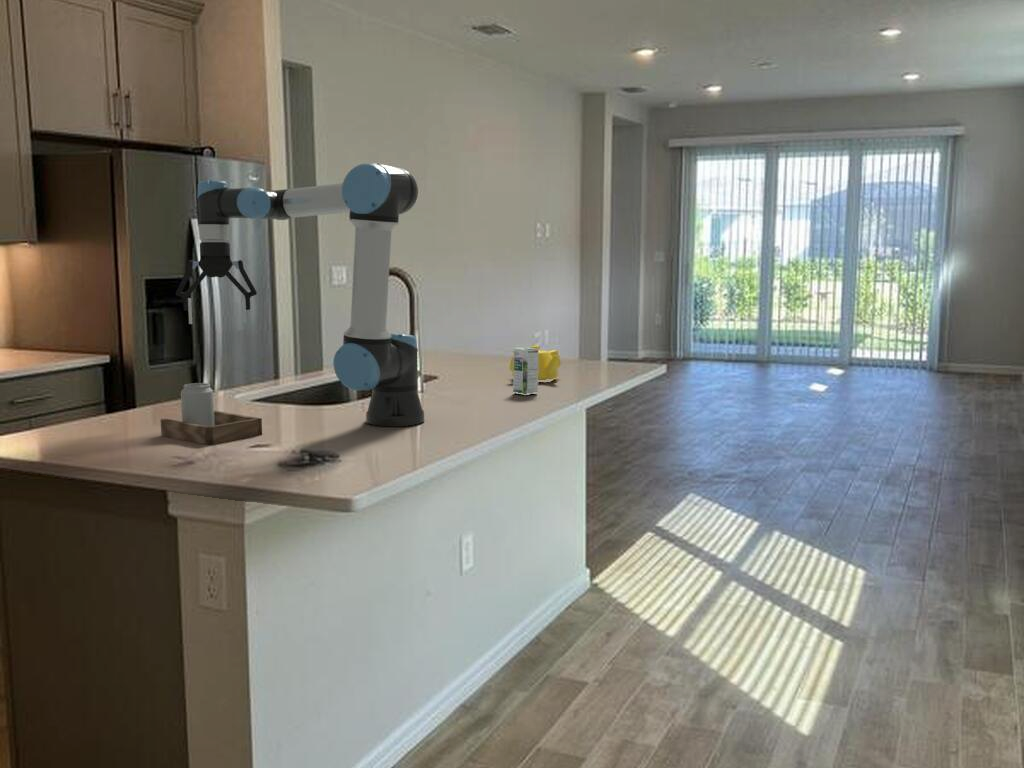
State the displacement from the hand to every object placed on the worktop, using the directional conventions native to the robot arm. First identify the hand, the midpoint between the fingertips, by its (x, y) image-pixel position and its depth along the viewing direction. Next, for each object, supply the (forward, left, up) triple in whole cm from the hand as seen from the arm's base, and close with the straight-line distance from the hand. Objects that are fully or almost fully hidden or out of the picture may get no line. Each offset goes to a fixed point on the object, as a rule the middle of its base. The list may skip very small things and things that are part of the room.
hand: (217, 323), depth 254 cm
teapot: (-27, -109, -25) cm, 115 cm away
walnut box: (-19, +17, -25) cm, 36 cm away
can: (-14, +17, -25) cm, 33 cm away
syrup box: (-42, -82, -25) cm, 95 cm away
